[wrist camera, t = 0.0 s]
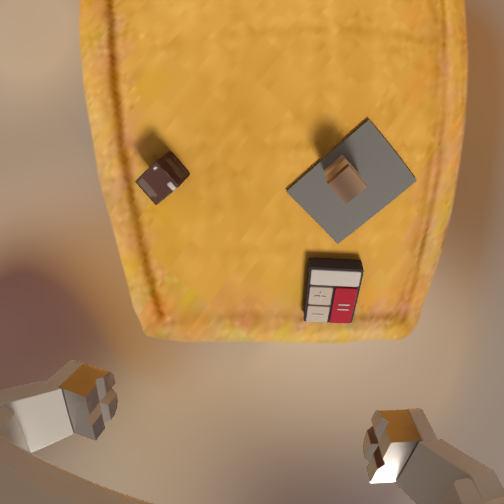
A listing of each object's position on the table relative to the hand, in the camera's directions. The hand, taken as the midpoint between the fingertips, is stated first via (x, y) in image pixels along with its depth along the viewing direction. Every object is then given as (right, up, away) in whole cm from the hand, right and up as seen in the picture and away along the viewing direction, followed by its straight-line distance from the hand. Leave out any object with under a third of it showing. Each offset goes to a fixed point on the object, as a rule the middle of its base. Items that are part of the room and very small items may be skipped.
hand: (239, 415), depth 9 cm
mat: (+19, +17, +48) cm, 54 cm away
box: (-15, +20, +52) cm, 57 cm away
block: (+16, +19, +46) cm, 53 cm away
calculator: (+18, -3, +61) cm, 63 cm away
